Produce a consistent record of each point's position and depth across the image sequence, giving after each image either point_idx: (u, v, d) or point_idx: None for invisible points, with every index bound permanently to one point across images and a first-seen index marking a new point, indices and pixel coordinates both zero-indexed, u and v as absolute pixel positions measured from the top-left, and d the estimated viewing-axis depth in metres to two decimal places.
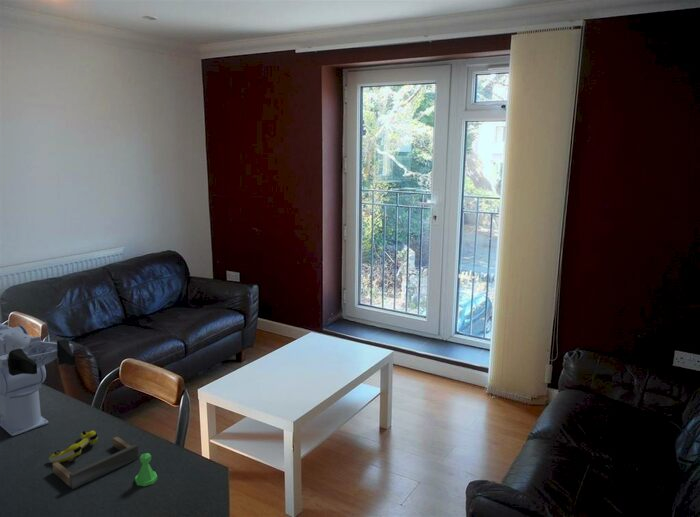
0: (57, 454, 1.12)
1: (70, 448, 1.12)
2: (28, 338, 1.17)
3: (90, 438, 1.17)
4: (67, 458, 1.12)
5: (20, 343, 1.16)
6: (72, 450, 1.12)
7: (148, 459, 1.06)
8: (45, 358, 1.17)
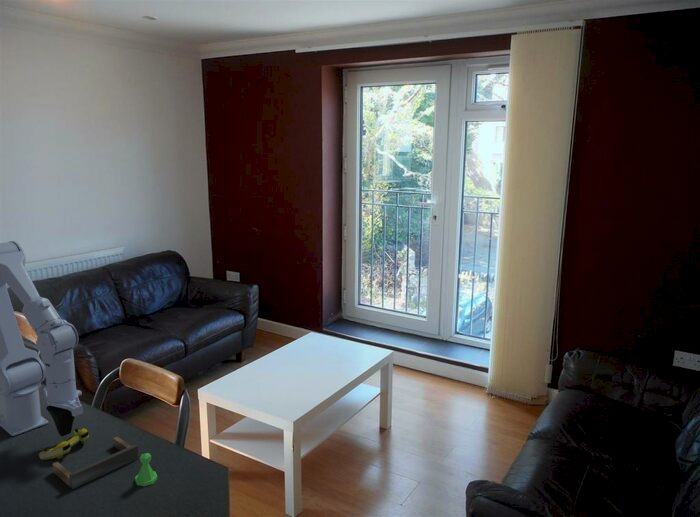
0: (46, 451, 1.13)
1: (59, 445, 1.13)
2: None
3: (81, 436, 1.18)
4: (56, 455, 1.12)
5: (75, 383, 1.18)
6: (61, 447, 1.12)
7: (148, 459, 1.06)
8: None
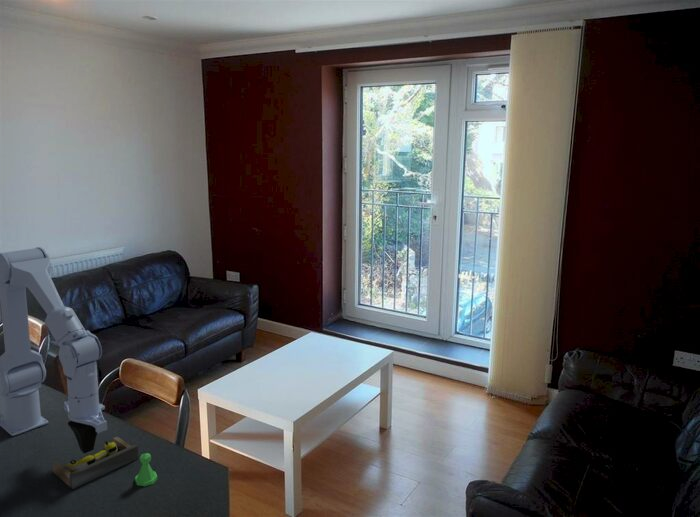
0: (72, 464, 1.09)
1: (84, 459, 1.08)
2: None
3: (109, 450, 1.13)
4: None
5: (98, 397, 1.12)
6: (85, 462, 1.08)
7: (148, 459, 1.06)
8: None
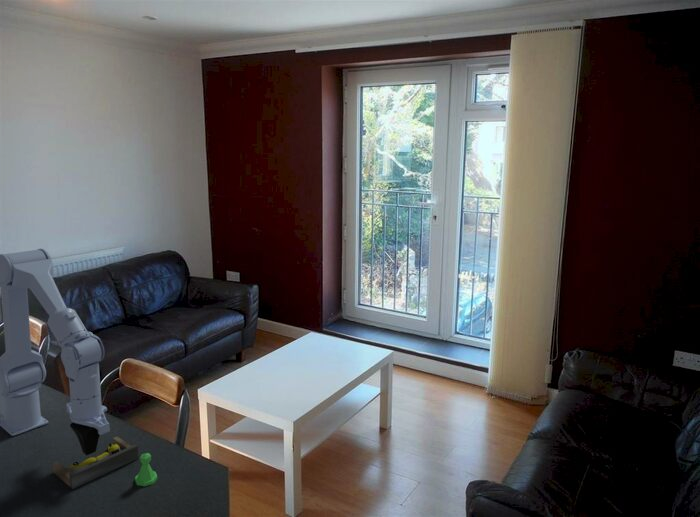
0: (74, 466, 1.08)
1: (86, 461, 1.08)
2: None
3: (112, 453, 1.12)
4: None
5: (100, 399, 1.11)
6: (87, 464, 1.07)
7: (148, 459, 1.06)
8: None
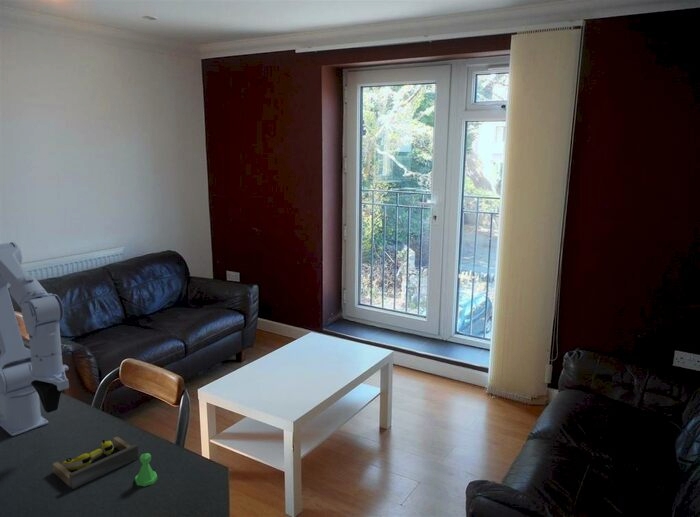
0: (67, 462, 1.10)
1: (79, 457, 1.09)
2: None
3: (105, 449, 1.13)
4: (76, 467, 1.09)
5: (61, 357, 1.13)
6: (80, 460, 1.09)
7: (148, 459, 1.06)
8: None
